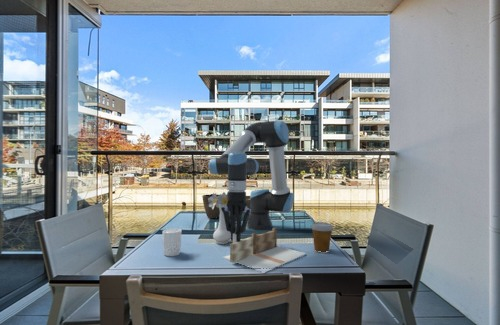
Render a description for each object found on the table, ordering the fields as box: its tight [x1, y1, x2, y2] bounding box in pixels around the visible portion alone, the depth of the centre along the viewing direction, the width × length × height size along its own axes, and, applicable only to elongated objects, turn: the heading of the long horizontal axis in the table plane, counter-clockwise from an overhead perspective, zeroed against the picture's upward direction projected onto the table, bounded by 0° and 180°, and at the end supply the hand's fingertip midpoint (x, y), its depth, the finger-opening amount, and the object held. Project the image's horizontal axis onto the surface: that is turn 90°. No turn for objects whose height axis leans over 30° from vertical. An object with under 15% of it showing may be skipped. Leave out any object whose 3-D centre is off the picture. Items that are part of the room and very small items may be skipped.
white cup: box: [162, 228, 183, 257], centre depth 117 cm, size 8×8×10 cm
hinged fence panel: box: [229, 236, 253, 263], centre depth 111 cm, size 13×2×7 cm, turn 143°
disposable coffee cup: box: [310, 221, 334, 252], centre depth 124 cm, size 10×10×12 cm
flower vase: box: [208, 191, 231, 245], centre depth 135 cm, size 13×18×25 cm
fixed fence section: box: [251, 227, 278, 254], centre depth 122 cm, size 16×2×8 cm, turn 137°
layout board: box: [223, 245, 307, 269], centre depth 115 cm, size 28×22×1 cm
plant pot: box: [201, 193, 220, 219], centre depth 195 cm, size 15×15×16 cm
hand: (235, 249), depth 110 cm, fingers closed
